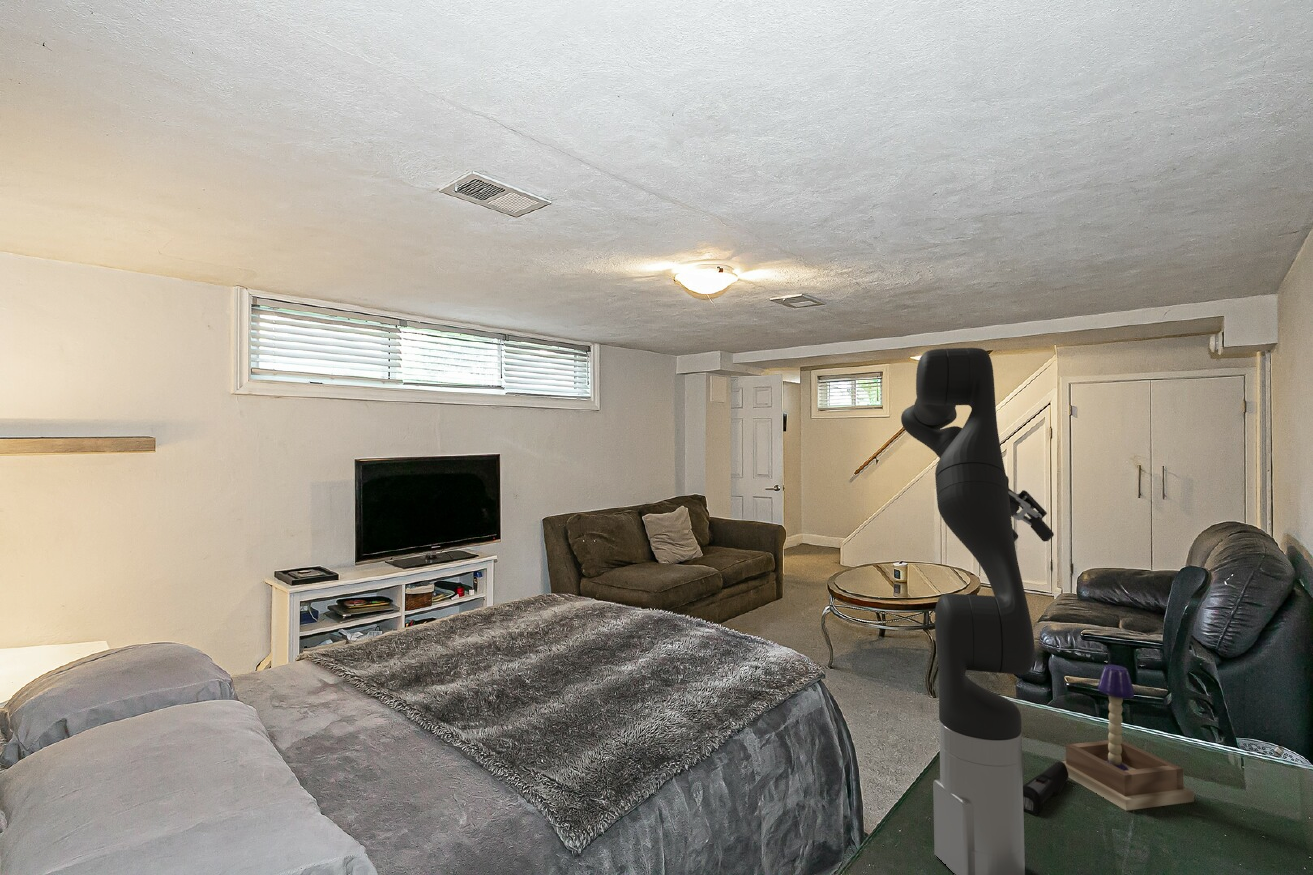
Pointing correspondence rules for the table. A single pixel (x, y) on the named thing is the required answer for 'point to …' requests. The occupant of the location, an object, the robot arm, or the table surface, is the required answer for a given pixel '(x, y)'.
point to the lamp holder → (1127, 776)
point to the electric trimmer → (1043, 788)
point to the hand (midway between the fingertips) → (1032, 539)
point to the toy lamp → (1115, 707)
